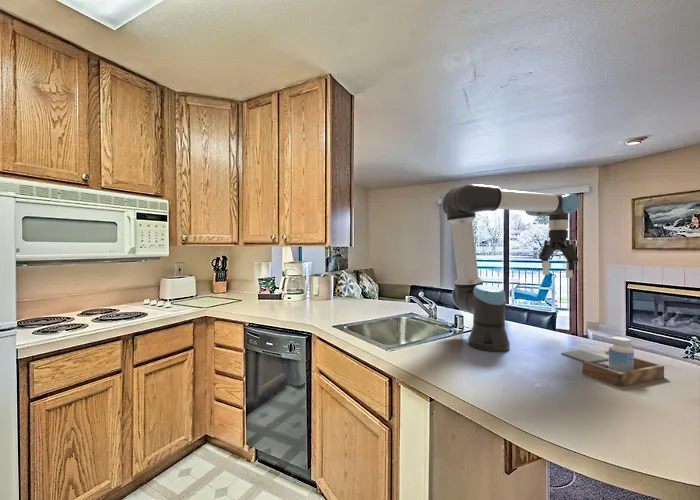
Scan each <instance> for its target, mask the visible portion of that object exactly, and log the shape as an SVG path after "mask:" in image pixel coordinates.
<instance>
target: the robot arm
mask: <svg viewBox="0 0 700 500" xmlns="http://www.w3.org/2000/svg"><path fill="white" fill-rule="evenodd" d="M440 201H441V202H440V206H441V207H440V208H441V210H442V212H443V213H445V215H446V220H447V222H448V223H449V224H450V225H451V230H452V232H451V233H452V239H453V240H452V241H453V249H454V257H455V259H454V260H455V265H456V266H455V267H456V274H457V279H456V280H455V281H454V288H453V290H452V291H451V300H452V302H453V304H454V306H455V307H456V308H458V309H459V310H461V311H463V312H464V313H468V314H472V315H473V319H472V321H473V323H472V327H471V331H470V335H469V336H468V339H467V340H468V342H467V343H468V345H469V346H470V347H472V348H474V349H477V350H480V351H488V352H505V351H506V352H507V351H509V350H510V345H511V344H510V340H509V338H508V334H507V333H508V332H507V330H506V303H507V299H506V298H507V297H506V291H504V290H505V289H503V288H502V287H499V286H496V285H489V284H484V282H483V279H481V278H480V277H479V272H478V270H479V269H478V263H477V253H476V242H475V234H474V227H473V226H474V225H473V221H474V220H475V219H476V213H478V212H480V213H481V212H487V211H489V212H494V211H497V210H509V211H510V210H511V211H524V212H525V213H526V215H528V216H531V217H532V216H533V217H538V216H539V217H548V229H549V230H548V238H549V239H547V240H546V239H545V240H544V243H543V247H542V249H541V252H540V254H539V257H538V259H539V260H540V261H542V262H541V263H542V265H541V266H542V275H544V276H548V275H550V260H549V259H550V258H551V256H552V255H553V253H554V252H555V251H560V252H561V253H562V254H563V256H564V258H565V260H566V264H565V278H568V279H570V278H571V279H572V278H573V277H574V276H573V275H574V270H575V263H576V262H579V257H578V255H577V252H576V250H575V247H574V241H573V240H572V239H568V237H569V231H568V229H569V214H571V213H574V212H576V211H578V210H579V209H580V203H581V202H580V199H579V197H578V195H576V194H573V193H567V194H554V193H545V192H544V193H543V192H542V193H541V192H531V191H520V190H509V189H508V190H507V189H501V187H499V186H496V185H487V184H486V185H485V184H478V183H477V184H476V183H469V184H465V185H462V186H458V187H454V188H452V189H450V190H448V191H446V192H445V194H444V195H443V196H442V198H441V200H440Z"/></svg>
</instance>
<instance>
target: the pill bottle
mask: <svg viewBox="0 0 700 500" xmlns="http://www.w3.org/2000/svg"><path fill="white" fill-rule="evenodd" d="M611 342H612V343H611V344H610V345H609V347H608V350H609V354H608V358H609V360H608V366H609V368H608V369H610V370H613V371H616V372H624V371H630V370H635V369H634V357H635V351H634V348H633V347H632V346H631V344H632V339H630V338H627V337H623V336H612V337H611Z"/></svg>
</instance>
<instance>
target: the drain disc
mask: <svg viewBox="0 0 700 500" xmlns="http://www.w3.org/2000/svg"><path fill="white" fill-rule="evenodd" d="M594 364H595V365H598V366H601V367H604V368H607V369H609V364H605V363H602V362H601V363H600V362H595V363H594Z"/></svg>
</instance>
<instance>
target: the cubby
mask: <svg viewBox="0 0 700 500" xmlns="http://www.w3.org/2000/svg"><path fill="white" fill-rule="evenodd" d="M581 369H582V373H583V374H585V375H588V376H591V377H594V378H595V379H600V380H602V381H605V382H607V383H611V384H612V385H616V386H619V387H624V386H628V385H633V384H638V383H644V382H648V381H652V380H656V379H657V380H659V379H662V378H664V377H665V365H663V364H662V365H661V364H659V363H657V362H652V361H649V360H644V359H641V358H637V357H635V356H634V370H630V371H624V372H616V371H613V370H610V369H609V368H604V367H601V366H598V365H595V363H589V362H586V361H582V368H581Z"/></svg>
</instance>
